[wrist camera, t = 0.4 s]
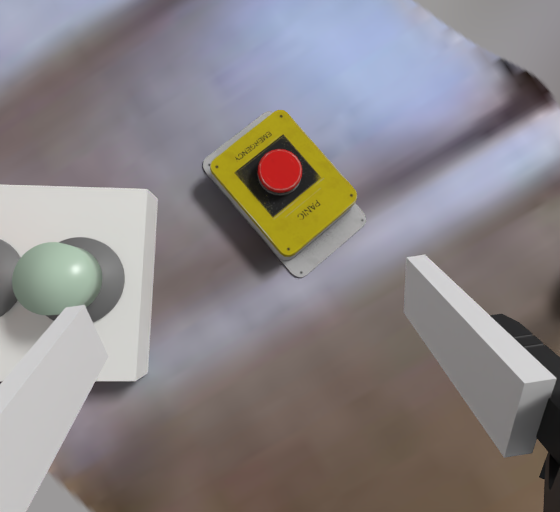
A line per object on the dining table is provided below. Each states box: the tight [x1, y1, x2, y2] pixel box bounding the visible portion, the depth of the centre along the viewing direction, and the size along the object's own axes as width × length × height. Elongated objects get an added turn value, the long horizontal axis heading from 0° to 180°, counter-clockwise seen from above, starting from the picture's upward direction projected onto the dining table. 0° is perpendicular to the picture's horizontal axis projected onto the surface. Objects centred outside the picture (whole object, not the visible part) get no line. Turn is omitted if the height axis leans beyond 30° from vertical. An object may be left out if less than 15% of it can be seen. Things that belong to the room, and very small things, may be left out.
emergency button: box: [203, 110, 366, 278], centre depth 31 cm, size 9×4×15 cm
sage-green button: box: [12, 242, 102, 315], centre depth 25 cm, size 5×5×2 cm
